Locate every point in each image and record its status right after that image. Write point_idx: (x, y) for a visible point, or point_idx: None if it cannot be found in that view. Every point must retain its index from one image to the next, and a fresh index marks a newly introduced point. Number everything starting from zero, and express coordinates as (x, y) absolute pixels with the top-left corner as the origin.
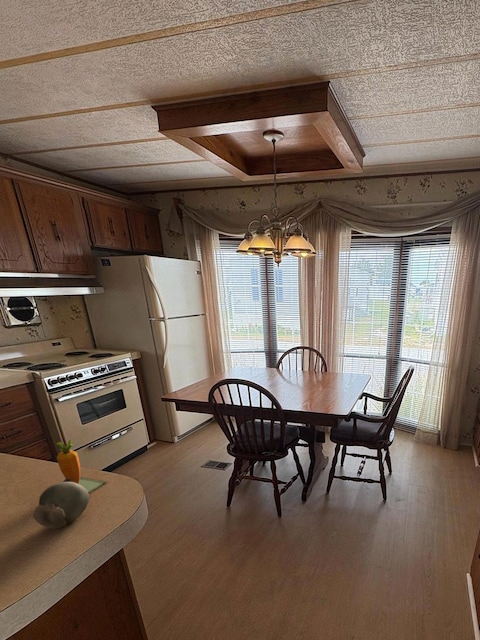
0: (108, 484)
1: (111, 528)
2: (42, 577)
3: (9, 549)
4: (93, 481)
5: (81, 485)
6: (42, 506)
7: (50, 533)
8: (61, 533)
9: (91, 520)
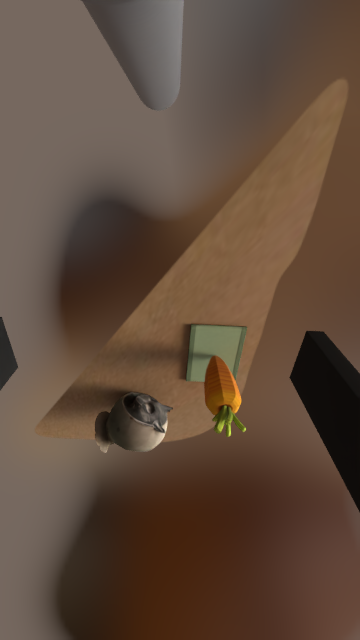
0: None
1: None
2: (62, 434)
3: (73, 384)
4: (233, 368)
5: None
6: (99, 442)
7: (112, 399)
8: None
9: None
